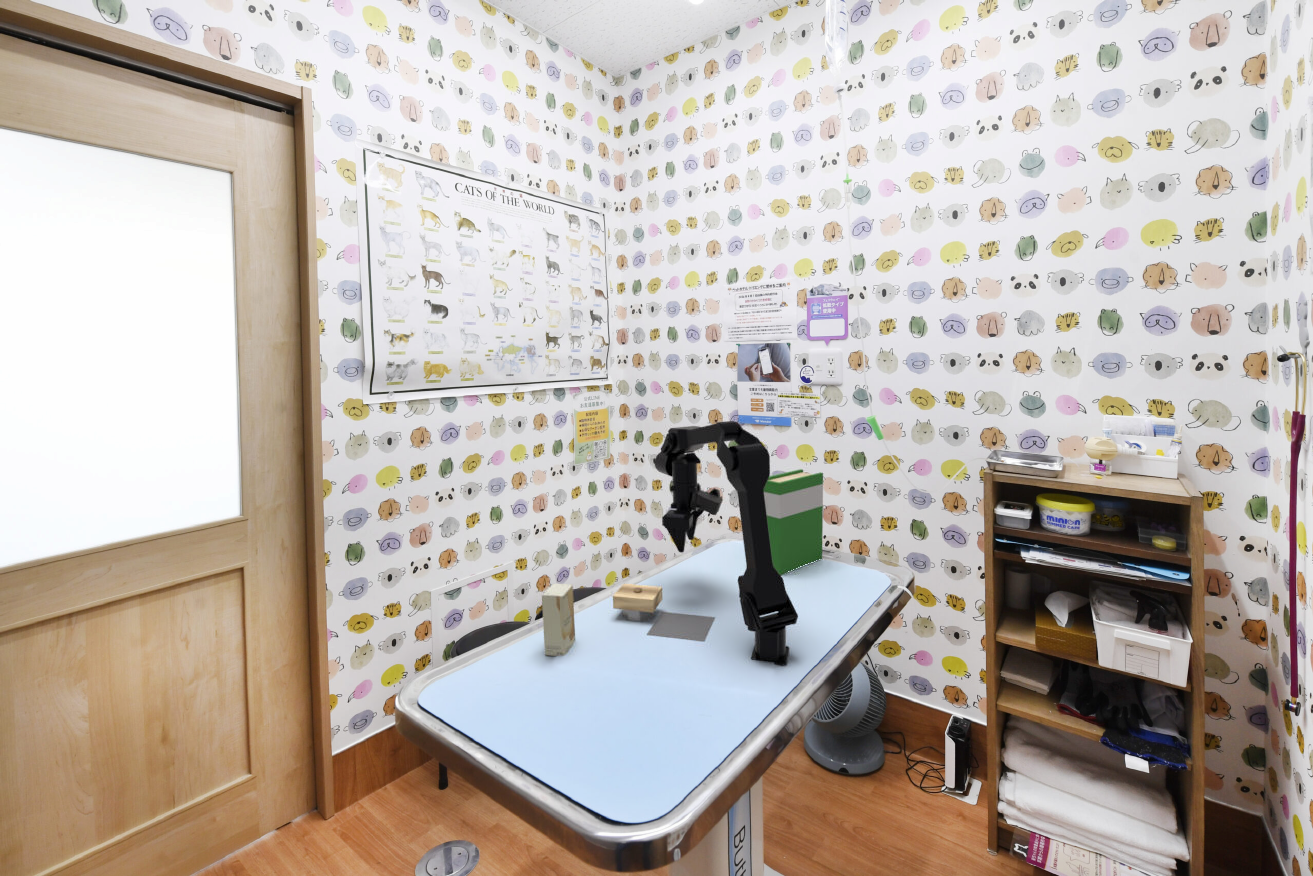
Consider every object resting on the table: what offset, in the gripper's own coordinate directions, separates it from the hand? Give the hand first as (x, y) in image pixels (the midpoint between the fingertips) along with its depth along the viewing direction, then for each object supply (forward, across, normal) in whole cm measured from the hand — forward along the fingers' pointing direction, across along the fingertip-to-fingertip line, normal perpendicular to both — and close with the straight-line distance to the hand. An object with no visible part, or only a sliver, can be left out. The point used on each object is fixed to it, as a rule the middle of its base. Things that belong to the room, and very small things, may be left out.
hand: (686, 545), depth 138 cm
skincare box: (+12, -31, +18) cm, 38 cm away
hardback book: (+12, +26, -22) cm, 36 cm away
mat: (+12, -17, -3) cm, 21 cm away
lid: (+9, -14, +8) cm, 18 cm away
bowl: (+12, -14, +8) cm, 20 cm away
